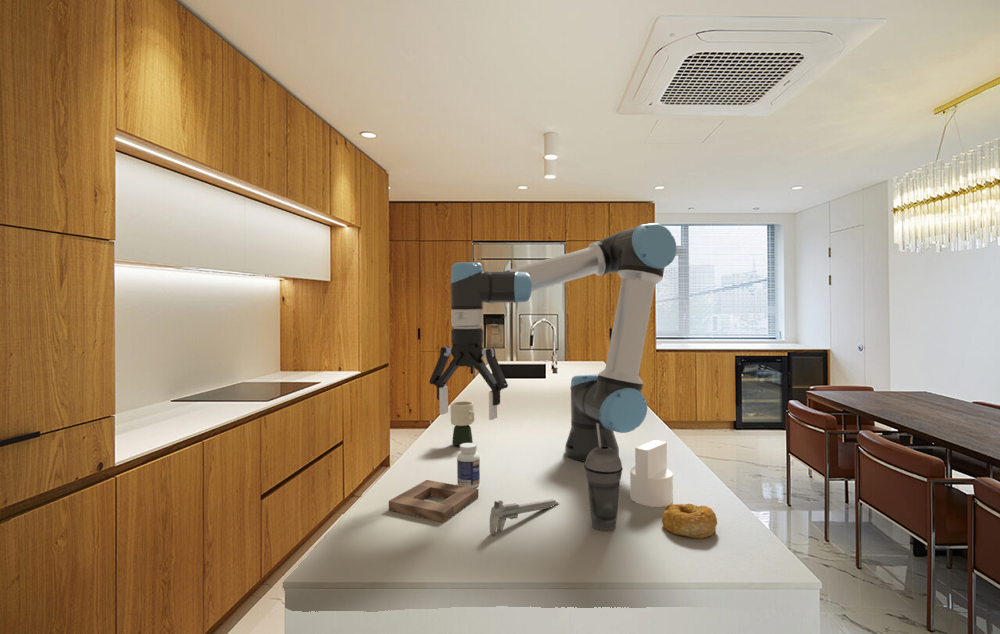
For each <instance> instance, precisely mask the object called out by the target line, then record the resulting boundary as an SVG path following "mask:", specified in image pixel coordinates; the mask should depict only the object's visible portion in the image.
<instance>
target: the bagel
mask: <svg viewBox="0 0 1000 634" xmlns="http://www.w3.org/2000/svg"><path fill="white" fill-rule="evenodd" d="M661 519H662V521H661V523H662V526H663V528H664V529H665V530H666V531H668V532H670V533H672V534H673V535H677V536H683V537H687V538H693V539H707V538H709V537H710V536H713V534H714V533H716V531H717V525H718V517H717V516H716V513H715V511H714V510H713V509H712V508H710V507H709V506H707V505H700V506H699V505H696V504H692V503H686V504H685V503H679V504H676V503H675V504H673V503H671V504H670V505H668V506H665V508H664V511H663V512H662V516H661Z"/></svg>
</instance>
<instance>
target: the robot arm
mask: <svg viewBox="0 0 1000 634" xmlns="http://www.w3.org/2000/svg"><path fill="white" fill-rule="evenodd" d="M676 254H677V243H676V239H675V236H674V235H672V233H671V231H670V229H668V227H666V226H664V225H663V224H660V223H655V222H653V223H651V222H650V223H645V224H644V223H643V224H640V225H638V226H635V227H631V228H629V229H624V230H621V231H619V232H616V233H613V234H611V235H609V236H607V237H605V238H603V239H601V240H597V241H594V242H591V243H589V244H588V246H587V247H586V248H583V249H579V250H575V251H572V252H567V253H565V254H564V253H563V254H560V255H557V256H553V257H551V258H550V257H549V258H546V259H543V260H539V261H536V262H533V263H529V264H525V265H521V266H518V267H515V268H514V267H513V268H510V269H507V270H504V271H503V270H502V271H487V270H484V269H483V265H482V263H480V262H473V261H472V262H469V261H468V262H467V261H465V262H461V261H460V262H455V263H453V264H452V266H451V268H450V269H451V271H450V272H451V273H450V282H449V283H450V302H451V303H450V304H451V307H450V309H451V310H450V311H451V312H450V313H451V315H450V317H451V324H450V325H451V326H452V327H453V328H451V330H450V331H451V336H450V337H451V340H450V341H451V345H452V347H450V346H441V348H440V350H439V351H440V352H439V358H438V360H437V362H436V365H435V367H434V370H433V372H432V373H431V377H430V379H429V384H431V385H434V386H435V387H436V399H437V401H439V415H445V414H448V413H449V386H447V382H449V380H450V378H452V376H453V375H454V373H455V372H456V371H457V369H458V368H459V367H467V368H474V369H475V370H477V371H478V373H479V374H480V376H481V377H482V379H483V380H484V382H486V384H487V386H488V387H489V388H490V389H491V390H490V391H488V420H489V421H493V420H495V419H497V418H498V405H500V404H501V391H502V390H504V389H507V388H508V386H509V383H508V382H507V379H506V377H505V375H504V373H503V371H502V368H501V366H500V363H499V362H498V359H497V356H496V350H495V348H494V347H490V348H486V349H484V347H483V342H484V331H483V330H484V329H483V328H481V327H482V326H483V325H484V322H483V321H484V318H483V317H484V316H483V315H484V314H483V309H484V308H483V304H484V303H487V304H495V303H504V304H505V303H516V304H518V303H526V302H528V301H529V300H530V299H531V295H532V292H536V291H540V290H543V289H546V288H550V287H553V286H556V285H561V284H564V283H567V282H571V281H574V280H577V279H581V278H585V277H587V276H590V275H596V276H598V277H600V276H604V275H607V274H612V273H614V274H615V273H617V275H618V276H619V277H620V279H621V281H620V282H621V283H620V288H619V293H618V298H617V304H616V309H615V313H614V318H613V319H614V321H613V325H612V331H611V335H610V343H609V347H608V353H607V357H606V363H605V368H604V369H603V370H601V371H600V372H598V373H597V374H582V375H581V374H580V375H574V376H572V378H571V379H570V380H571V381H570V411H571V412H570V413H571V414H570V416H571V417H570V420H571V421H570V423H571V424H570V425H571V426H570V431H569V433H568V436H567V439H566V442H565V447H564V451H565V452H564V453H565V455H566V456H567V457H568V458H570V459H573V460H576V461H579V462H580V461H581V462H586V458H587V456H588V454H589V453H590V451H591V450H592V449H594V448H595V447H598V446H599V444H598V435H597V426H596V423H599V431H600V439H601V446H607V447H610V448H612V449H613V450H614V451H616V453H617V454H618V456H619V457H620V453H619V452H620V449H619V448H620V447H619V445H618V441H617V439H616V438H617V437H616V435H615V433H619V434H625V433H627V434H628V433H629V432H630V433H631V432H632V431H635V430H636V429H637V428H639V427H640V426H641V425H642V423H643V422H644V421H645V418H646V416H647V414H648V403H647V400H646V398H645V395H644V394H643V387H644V386H643V385H644V382H643V380H642V379H641V377H640V368H641V363H642V357H643V353H644V347H645V343H646V336H647V331H648V325H649V321H650V314H651V310H652V303H653V298H654V293H655V288H656V285H657V284H658V283H660V282H661V281H662V280H663V279H664V272H665V268H666V267H668V266H669V265H670V264H671V263H673V261H674V260H675V258H676ZM451 355H452V357H453V358H452V359H451V361H450V362H449V365H448V366H447V363H448V361H449V358H450V356H451ZM483 356H484V358H486V362H487V364H488V366H489V368H490V370H489V368H488V367H487V365H486V363H485V361H484V360H483ZM446 366H447V367H446ZM445 367H446V369H445ZM444 370H445V371H444Z"/></svg>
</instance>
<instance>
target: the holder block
mask: <svg viewBox="0 0 1000 634" xmlns="http://www.w3.org/2000/svg"><path fill="white" fill-rule="evenodd" d="M431 495H432V496H431ZM435 496H437V497H436V498H440V497H443V498H442V499H443V500H442V501H441V502H436V501H435V502H434V501H430V500H429V501H428V500H426V499H428V498H429V497H435ZM427 497H428V498H427ZM478 497H479V488H476V487H475V488H470V487H464V486H458V484H453V483H446V482H441V481H436V480H435V481H434V480H430V479H426V480H424V481H422V482H420V483H418V484H417V485H415V486H413V487H411V488H410V489H408V490H405V491H404V492H402V493H401V494H399V495H396V496H395V497H393V498H392V499H389V500H388V511H390V510H392V511H391V512H394V511H396V512H395V513H399V512H401V513H400V514H403V513H406V514H405V515H408V514H410V515H409V516H412V515H414V516H413V517H417V516H418V517H417V518H421V517H423V518H422V519H426V520H430V519H431V520H430V521H435V520H436V521H435V522H439V521H441V522H440V523H444V522H445V523H446V522H447V521H449V520H450V519H452V518H453V517H454V516H455V514H456V513H457V514H458V513H460V512H462V509H463V508H464V509H465V508H467V507H468V506H469V505H471V504H472V503H474V502H475V501H476V500H478V499H479V498H478ZM425 498H426V499H425ZM445 498H447V499H445ZM477 498H478V499H477ZM424 499H425V500H424ZM474 500H475V501H474ZM473 501H474V502H473ZM471 502H472V503H471ZM470 503H471V504H470ZM468 504H469V505H468ZM467 505H468V506H467ZM466 506H467V507H466ZM464 509H463V510H464ZM459 511H460V512H459ZM457 514H456V515H457ZM452 516H453V517H452ZM451 517H452V518H451ZM448 519H449V520H448Z"/></svg>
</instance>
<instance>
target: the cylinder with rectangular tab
mask: <svg viewBox="0 0 1000 634" xmlns="http://www.w3.org/2000/svg"><path fill="white" fill-rule="evenodd" d="M667 443H668V442H666V441H664V440H657V439H653V440H651V441H648V442H646V443H643V444H642V445H641V444H640V445H639V446H636V447H635V448H634V449H635V451H634V452H635V460H634V463H635V465H634V466H633V467H631V468H630V472H629V474H630V478H629V479H630V483H629V484H630V488H629V489H630V490H629V491H630V494H629V495H630V499H631V500H632V501H633V502H634V501H635V503H636V504H638V503H639V504H638V505H642V506H646V507H653V508H655V507H657V508H660V507H661V508H662V507H666V506H668V505H671V504H673V501H674V499H673V498H674V491H673V490H674V473H673V472H672V471H671V469H668V467H667V465H668V463H667V462H668V458H667V457H668V455H667V454H668V451H667V450H668V447H667V446H668V444H667Z"/></svg>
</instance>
